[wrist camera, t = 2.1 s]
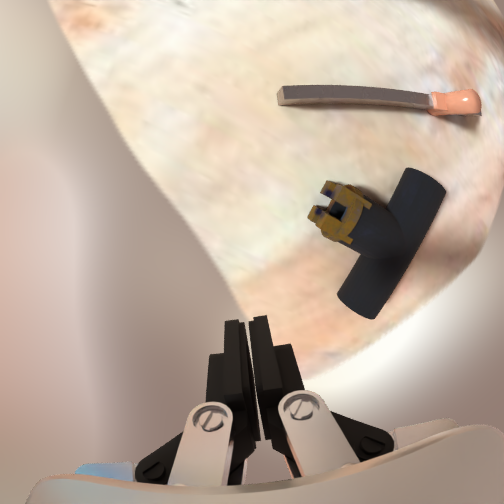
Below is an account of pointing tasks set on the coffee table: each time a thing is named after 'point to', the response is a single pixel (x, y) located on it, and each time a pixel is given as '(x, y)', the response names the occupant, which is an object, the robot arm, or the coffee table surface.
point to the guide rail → (383, 98)
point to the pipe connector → (378, 235)
